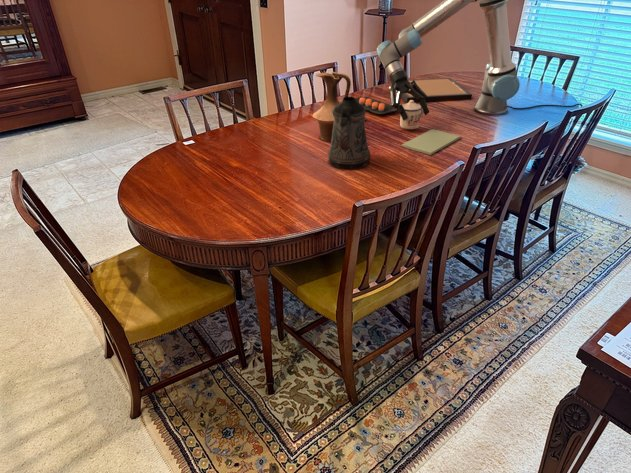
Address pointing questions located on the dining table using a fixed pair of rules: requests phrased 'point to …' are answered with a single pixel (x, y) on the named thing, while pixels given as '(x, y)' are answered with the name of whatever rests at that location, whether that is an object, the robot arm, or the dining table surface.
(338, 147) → the beer stein
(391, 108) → the sushi plate
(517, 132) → the dining table surface
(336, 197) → the dining table surface
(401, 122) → the teacup with lid
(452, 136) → the mat
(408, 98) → the cork board
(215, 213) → the dining table surface
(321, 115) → the pitcher
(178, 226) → the dining table surface
